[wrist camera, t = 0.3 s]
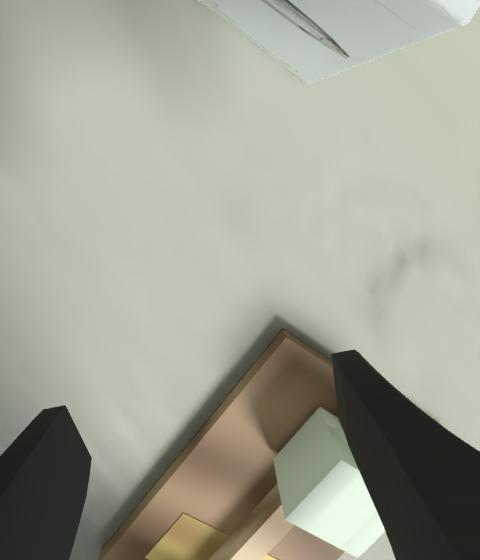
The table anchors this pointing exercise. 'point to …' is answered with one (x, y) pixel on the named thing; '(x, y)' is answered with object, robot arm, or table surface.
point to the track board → (236, 471)
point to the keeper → (326, 486)
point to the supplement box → (339, 29)
